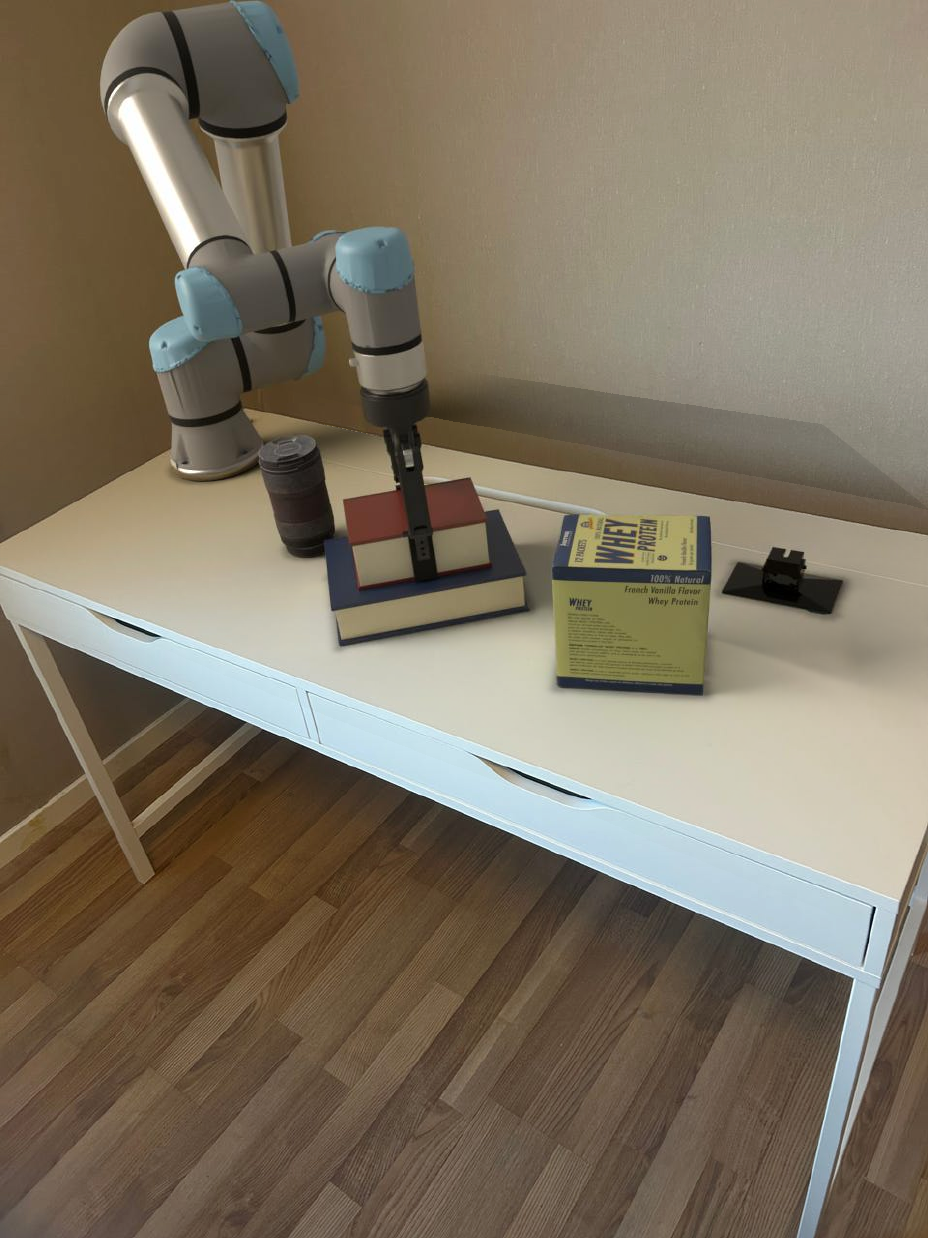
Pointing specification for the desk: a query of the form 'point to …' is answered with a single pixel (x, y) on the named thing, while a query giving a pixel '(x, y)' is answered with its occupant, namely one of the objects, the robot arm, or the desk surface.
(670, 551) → the protein box
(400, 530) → the dictionary
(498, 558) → the encyclopedia
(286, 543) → the camera lens
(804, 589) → the build plate
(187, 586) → the desk surface
